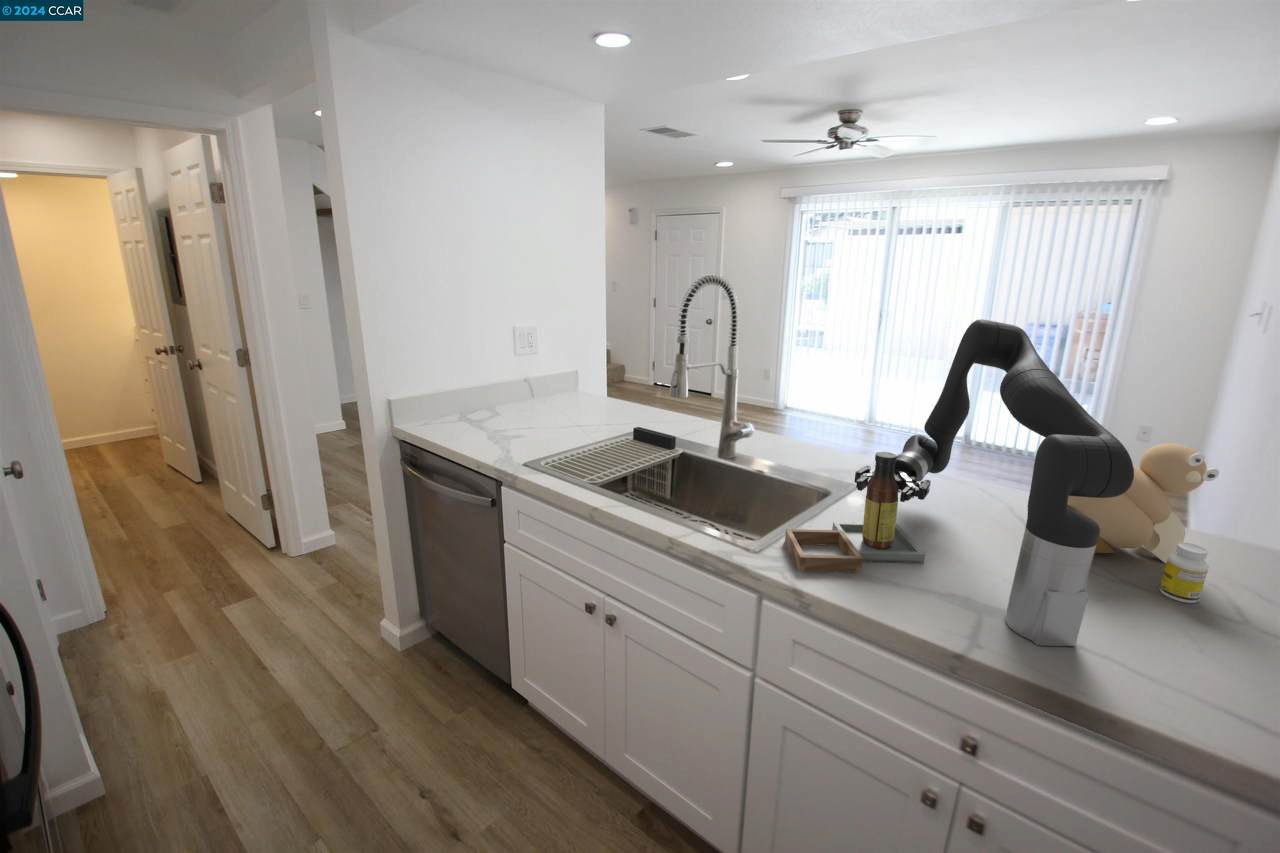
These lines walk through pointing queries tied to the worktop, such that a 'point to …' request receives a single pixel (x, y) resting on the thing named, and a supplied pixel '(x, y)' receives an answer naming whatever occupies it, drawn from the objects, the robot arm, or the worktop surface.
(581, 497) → the worktop surface
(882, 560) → the tray
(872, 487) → the sauce bottle
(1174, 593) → the supplement bottle
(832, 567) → the wooden frame
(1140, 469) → the chick figurine
